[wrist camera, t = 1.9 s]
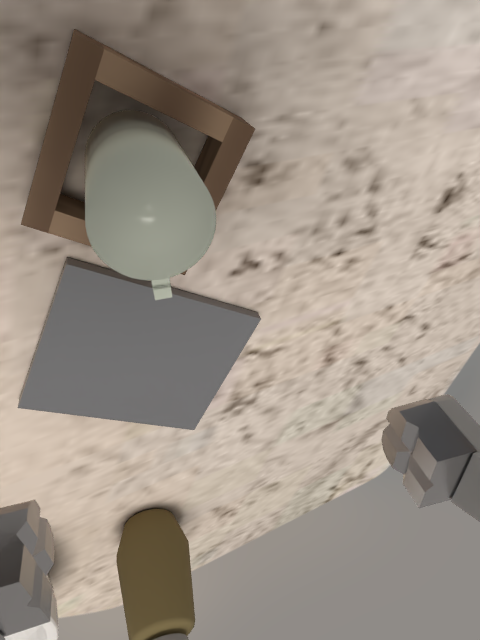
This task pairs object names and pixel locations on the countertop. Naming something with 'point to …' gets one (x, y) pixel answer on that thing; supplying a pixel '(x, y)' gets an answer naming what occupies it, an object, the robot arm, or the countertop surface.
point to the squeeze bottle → (156, 577)
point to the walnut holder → (144, 86)
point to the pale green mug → (144, 200)
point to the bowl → (41, 627)
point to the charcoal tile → (132, 350)
